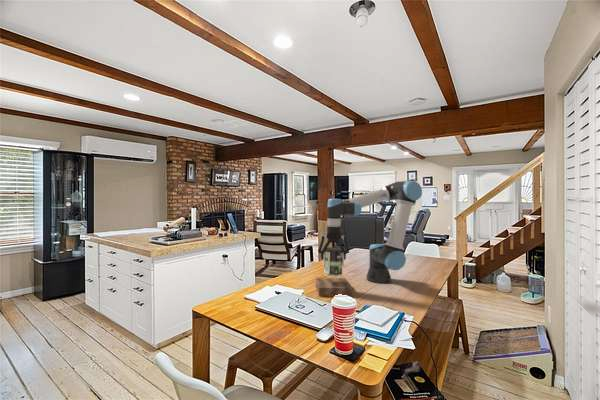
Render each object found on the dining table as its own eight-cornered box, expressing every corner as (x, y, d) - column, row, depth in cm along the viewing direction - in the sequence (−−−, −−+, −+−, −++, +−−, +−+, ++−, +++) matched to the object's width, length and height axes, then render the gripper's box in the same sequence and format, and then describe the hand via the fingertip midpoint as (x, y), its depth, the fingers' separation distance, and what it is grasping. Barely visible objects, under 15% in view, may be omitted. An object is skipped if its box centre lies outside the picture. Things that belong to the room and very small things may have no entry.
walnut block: (345, 285, 168) (345, 278, 168) (352, 296, 150) (352, 287, 150) (315, 285, 167) (315, 278, 167) (318, 296, 149) (319, 287, 149)
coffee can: (345, 273, 160) (345, 248, 160) (337, 277, 151) (338, 251, 151) (328, 270, 165) (329, 246, 165) (320, 274, 157) (321, 249, 157)
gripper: (352, 225, 163) (351, 263, 163) (313, 225, 162) (312, 263, 162) (355, 226, 155) (354, 267, 155) (314, 226, 154) (313, 266, 154)
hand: (333, 265), depth 158 cm, fingers closed on coffee can, 10 cm apart
